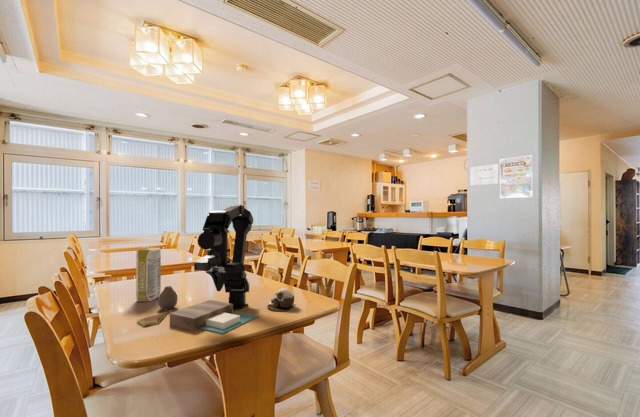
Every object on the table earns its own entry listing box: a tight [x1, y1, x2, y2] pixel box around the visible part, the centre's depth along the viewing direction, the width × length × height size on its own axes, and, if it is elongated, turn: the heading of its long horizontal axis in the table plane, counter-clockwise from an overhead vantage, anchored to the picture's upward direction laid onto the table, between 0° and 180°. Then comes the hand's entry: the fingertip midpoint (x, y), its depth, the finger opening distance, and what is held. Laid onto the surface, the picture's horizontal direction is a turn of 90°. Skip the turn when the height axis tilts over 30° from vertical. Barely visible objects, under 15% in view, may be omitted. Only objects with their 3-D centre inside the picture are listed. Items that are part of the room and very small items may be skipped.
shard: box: [136, 311, 168, 327], centre depth 108 cm, size 11×8×2 cm
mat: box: [199, 311, 259, 335], centre depth 105 cm, size 18×10×1 cm, turn 153°
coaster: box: [206, 312, 240, 329], centre depth 104 cm, size 8×8×2 cm
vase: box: [158, 285, 178, 311], centre depth 122 cm, size 7×7×9 cm
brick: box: [169, 299, 234, 332], centre depth 109 cm, size 18×12×4 cm, turn 153°
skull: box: [267, 287, 297, 312], centre depth 123 cm, size 12×10×10 cm
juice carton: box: [135, 245, 162, 302], centre depth 135 cm, size 9×8×24 cm
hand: (218, 291), depth 105 cm, fingers closed
